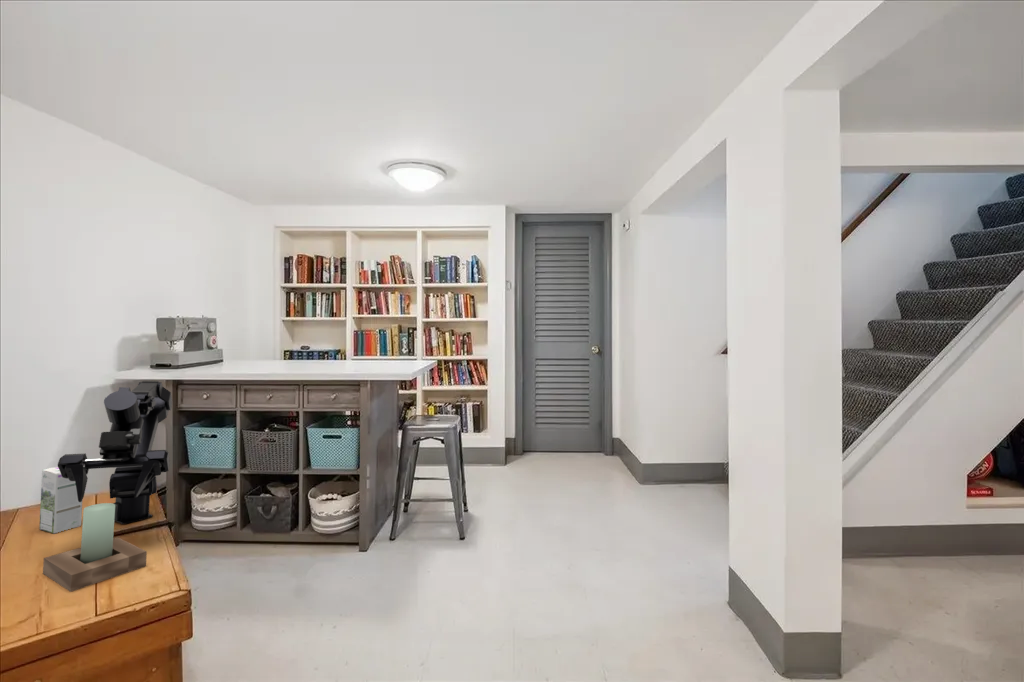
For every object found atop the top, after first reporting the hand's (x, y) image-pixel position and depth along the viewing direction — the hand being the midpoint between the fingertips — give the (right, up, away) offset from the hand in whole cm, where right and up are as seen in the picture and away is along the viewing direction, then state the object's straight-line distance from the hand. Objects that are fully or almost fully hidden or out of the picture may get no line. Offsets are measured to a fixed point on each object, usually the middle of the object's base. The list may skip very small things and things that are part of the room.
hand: (108, 498), depth 100 cm
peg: (+2, -12, -6) cm, 14 cm away
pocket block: (+2, -13, -6) cm, 14 cm away
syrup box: (-23, -12, +13) cm, 29 cm away
